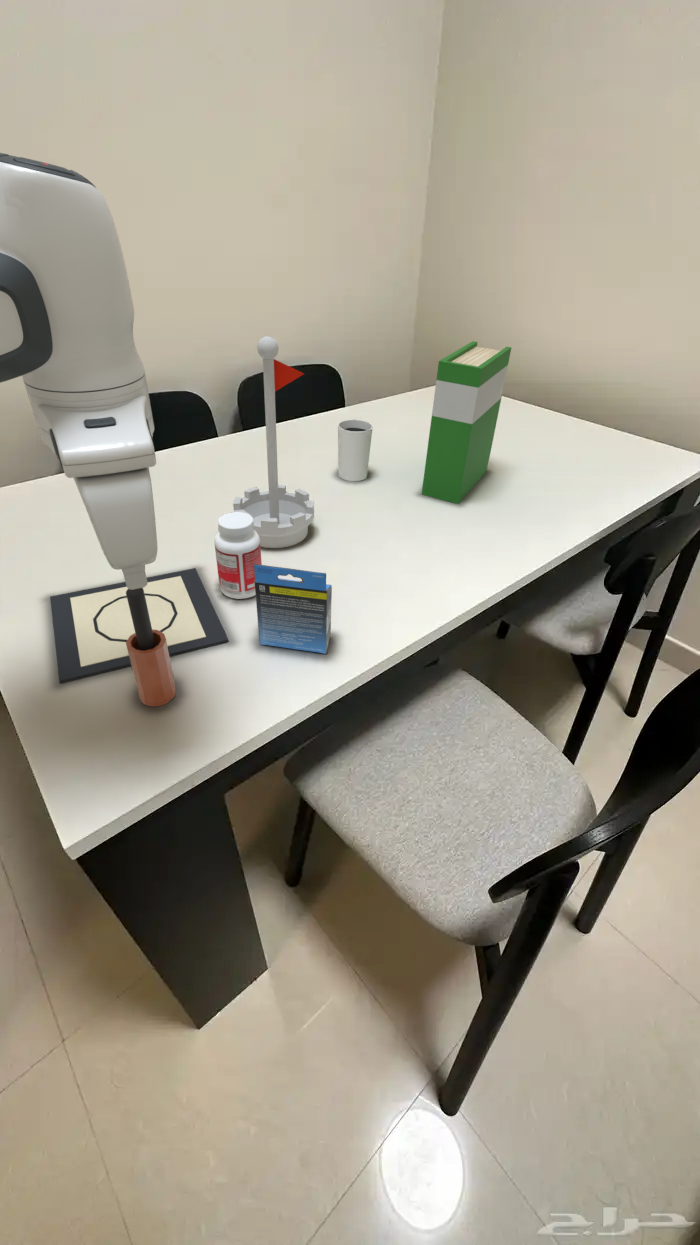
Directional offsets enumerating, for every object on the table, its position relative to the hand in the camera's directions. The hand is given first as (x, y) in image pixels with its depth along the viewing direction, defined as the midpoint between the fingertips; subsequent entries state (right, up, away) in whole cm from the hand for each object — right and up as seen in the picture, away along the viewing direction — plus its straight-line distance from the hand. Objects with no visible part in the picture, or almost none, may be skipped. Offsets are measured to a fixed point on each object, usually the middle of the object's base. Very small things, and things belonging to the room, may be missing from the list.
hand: (128, 558), depth 55 cm
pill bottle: (+5, -1, +29) cm, 29 cm away
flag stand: (+9, +9, +42) cm, 44 cm away
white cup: (+22, +23, +61) cm, 69 cm away
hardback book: (+42, +22, +61) cm, 77 cm away
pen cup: (-1, -14, +11) cm, 18 cm away
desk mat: (-7, -6, +22) cm, 24 cm away
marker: (-1, -14, +11) cm, 18 cm away
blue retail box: (+14, -9, +20) cm, 26 cm away
